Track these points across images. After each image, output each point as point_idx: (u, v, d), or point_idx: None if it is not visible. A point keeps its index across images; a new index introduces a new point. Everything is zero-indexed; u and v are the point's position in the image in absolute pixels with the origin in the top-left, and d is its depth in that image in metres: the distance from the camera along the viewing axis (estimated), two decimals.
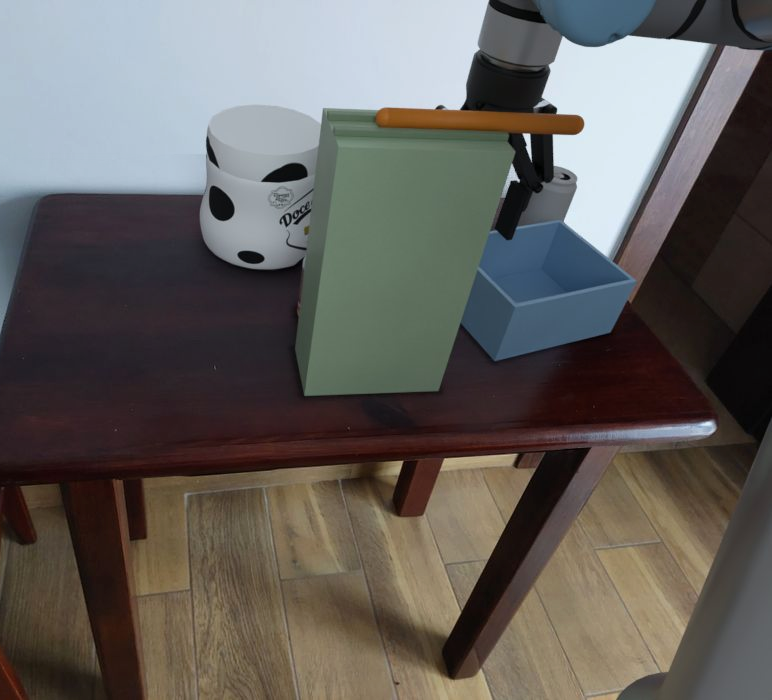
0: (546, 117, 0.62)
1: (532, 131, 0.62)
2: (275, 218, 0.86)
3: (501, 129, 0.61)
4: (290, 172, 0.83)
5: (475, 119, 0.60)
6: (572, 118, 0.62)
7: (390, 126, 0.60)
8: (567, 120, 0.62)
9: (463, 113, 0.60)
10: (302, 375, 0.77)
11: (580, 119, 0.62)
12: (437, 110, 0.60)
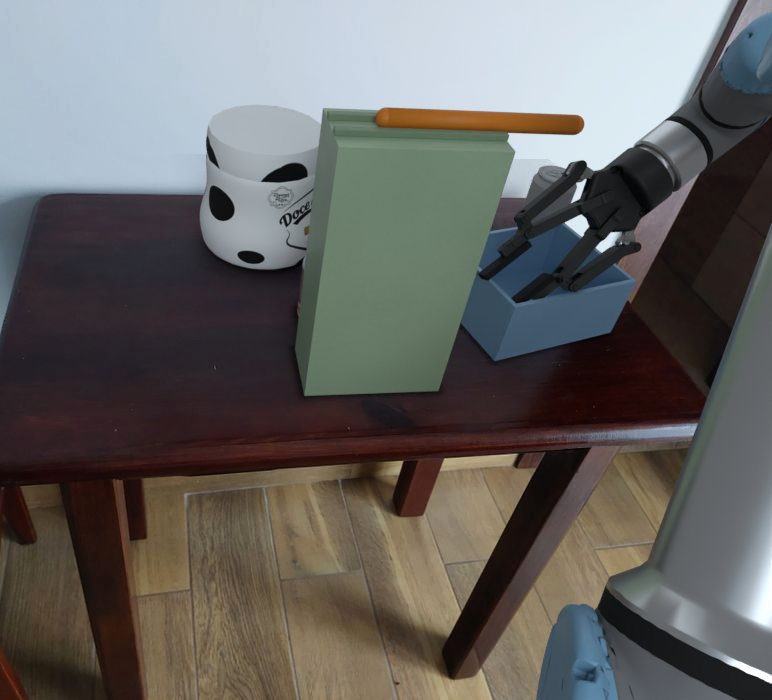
0: (546, 117, 0.62)
1: (532, 131, 0.62)
2: (275, 218, 0.86)
3: (501, 129, 0.61)
4: (290, 172, 0.83)
5: (475, 119, 0.60)
6: (572, 118, 0.62)
7: (390, 126, 0.60)
8: (567, 120, 0.62)
9: (463, 113, 0.60)
10: (302, 375, 0.77)
11: (580, 119, 0.62)
12: (437, 110, 0.60)
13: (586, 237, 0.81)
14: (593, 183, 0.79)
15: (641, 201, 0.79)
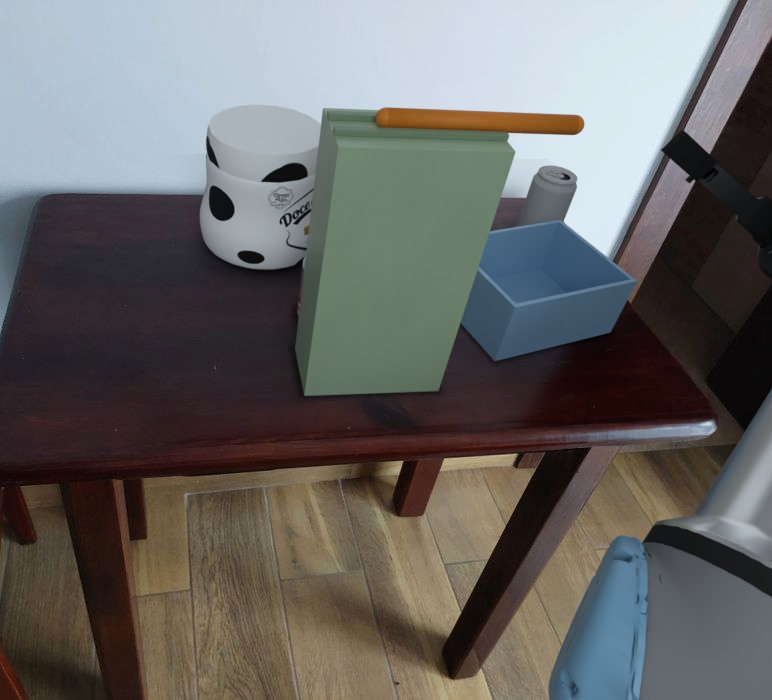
0: (546, 117, 0.62)
1: (532, 131, 0.62)
2: (275, 218, 0.86)
3: (501, 129, 0.61)
4: (290, 172, 0.83)
5: (475, 119, 0.60)
6: (572, 118, 0.62)
7: (390, 126, 0.60)
8: (567, 120, 0.62)
9: (463, 113, 0.60)
10: (302, 375, 0.77)
11: (580, 119, 0.62)
12: (437, 110, 0.60)
13: None
14: None
15: None
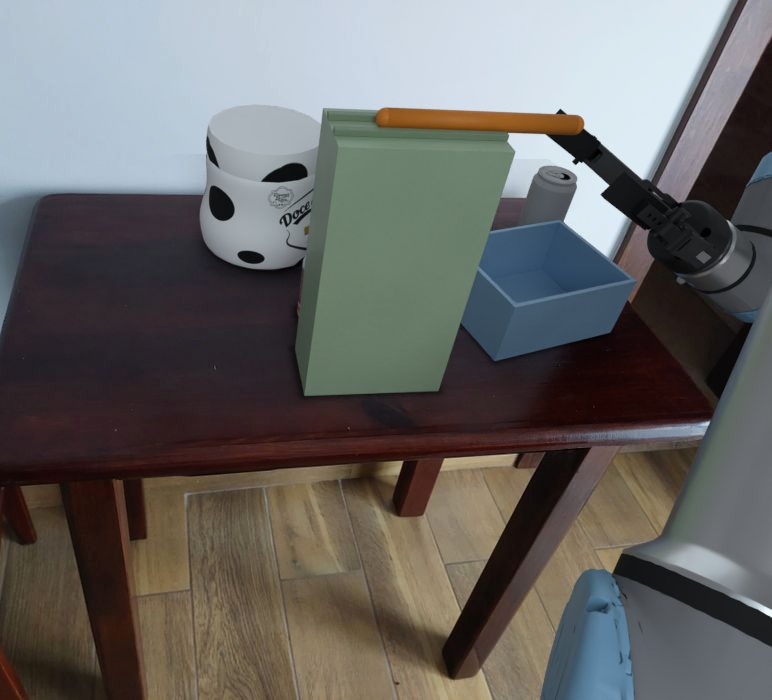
0: (546, 117, 0.62)
1: (532, 131, 0.62)
2: (275, 218, 0.86)
3: (501, 129, 0.61)
4: (290, 172, 0.83)
5: (475, 119, 0.60)
6: (572, 118, 0.62)
7: (390, 126, 0.60)
8: (567, 120, 0.62)
9: (463, 113, 0.60)
10: (302, 375, 0.77)
11: (580, 119, 0.62)
12: (437, 110, 0.60)
13: None
14: None
15: (701, 224, 0.71)
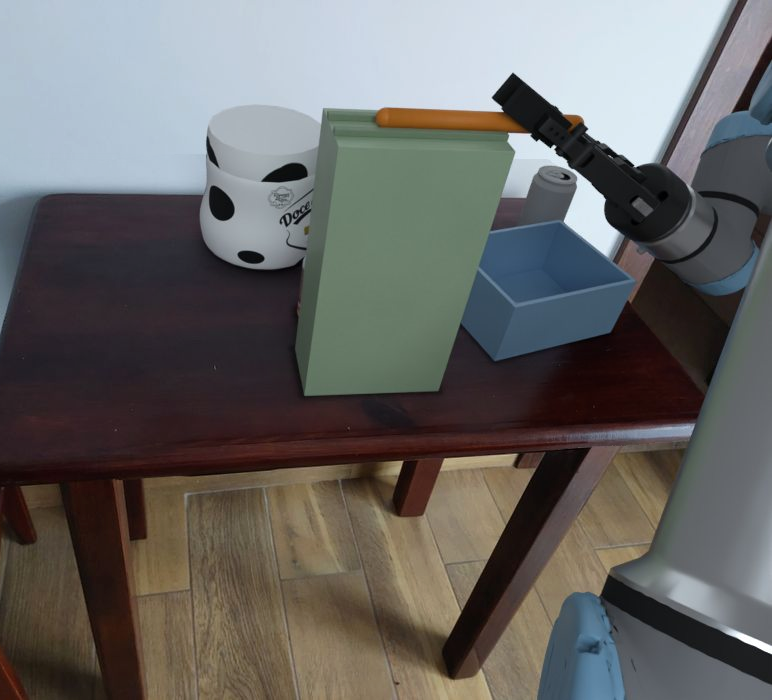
0: None
1: None
2: (275, 218, 0.86)
3: (501, 129, 0.61)
4: (290, 172, 0.83)
5: (475, 119, 0.60)
6: (572, 118, 0.62)
7: (390, 126, 0.60)
8: None
9: (463, 113, 0.60)
10: (302, 375, 0.77)
11: (580, 119, 0.62)
12: (437, 110, 0.60)
13: None
14: None
15: (658, 187, 0.67)
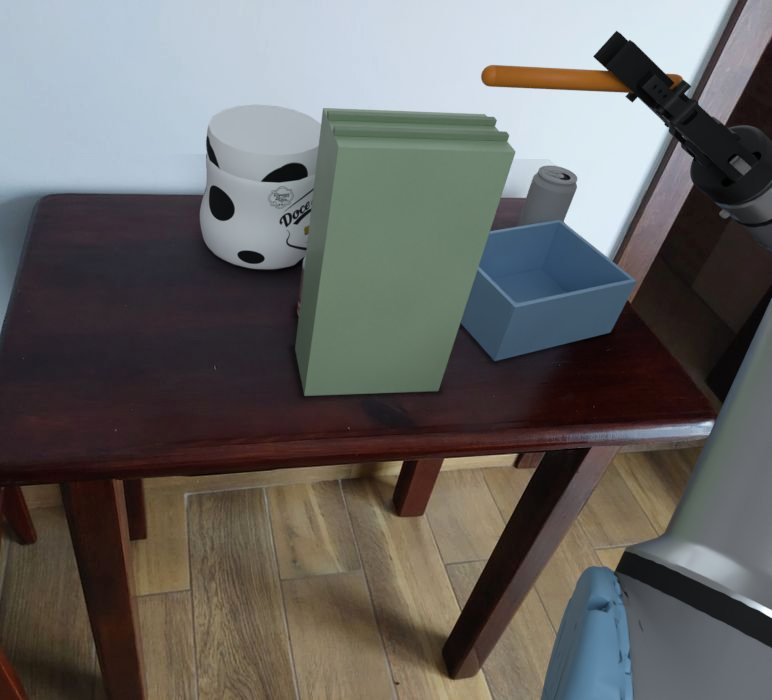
0: None
1: None
2: (275, 218, 0.86)
3: (603, 87, 0.62)
4: (290, 172, 0.83)
5: (579, 77, 0.61)
6: (672, 77, 0.63)
7: (496, 83, 0.60)
8: None
9: (567, 71, 0.61)
10: (302, 375, 0.77)
11: (680, 78, 0.63)
12: (542, 68, 0.61)
13: None
14: None
15: (750, 148, 0.68)
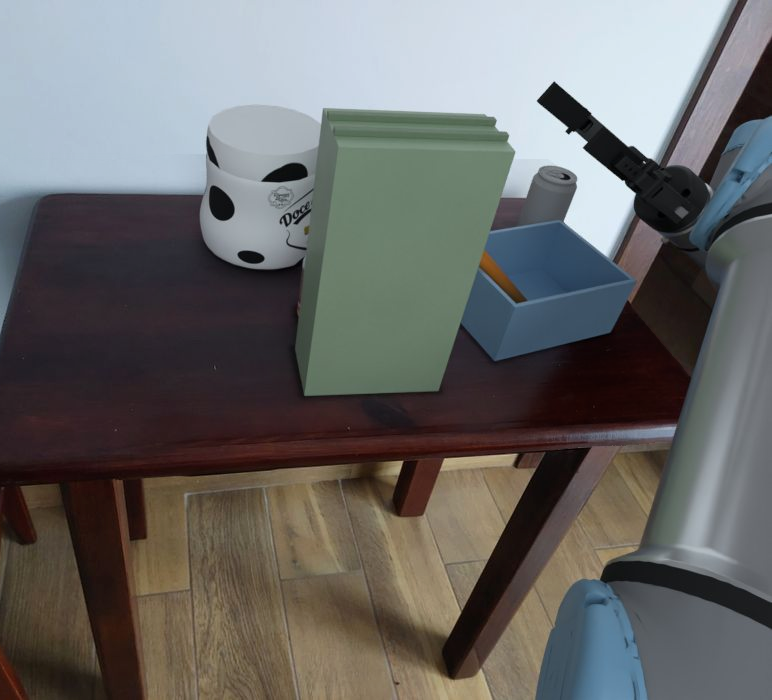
0: (519, 292, 0.88)
1: (509, 295, 0.88)
2: (275, 218, 0.86)
3: (499, 282, 0.86)
4: (290, 172, 0.83)
5: (494, 266, 0.84)
6: None
7: None
8: None
9: (490, 257, 0.84)
10: (302, 375, 0.77)
11: None
12: None
13: None
14: None
15: (681, 185, 0.79)
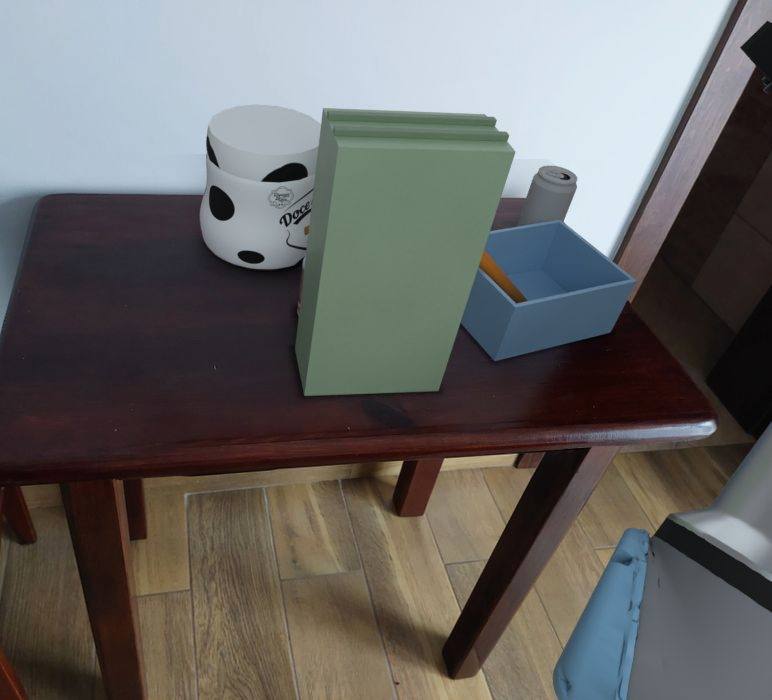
0: (519, 292, 0.88)
1: (509, 295, 0.88)
2: (275, 218, 0.86)
3: (499, 282, 0.86)
4: (290, 172, 0.83)
5: (494, 266, 0.84)
6: None
7: None
8: None
9: (490, 257, 0.84)
10: (302, 375, 0.77)
11: None
12: None
13: None
14: None
15: None
